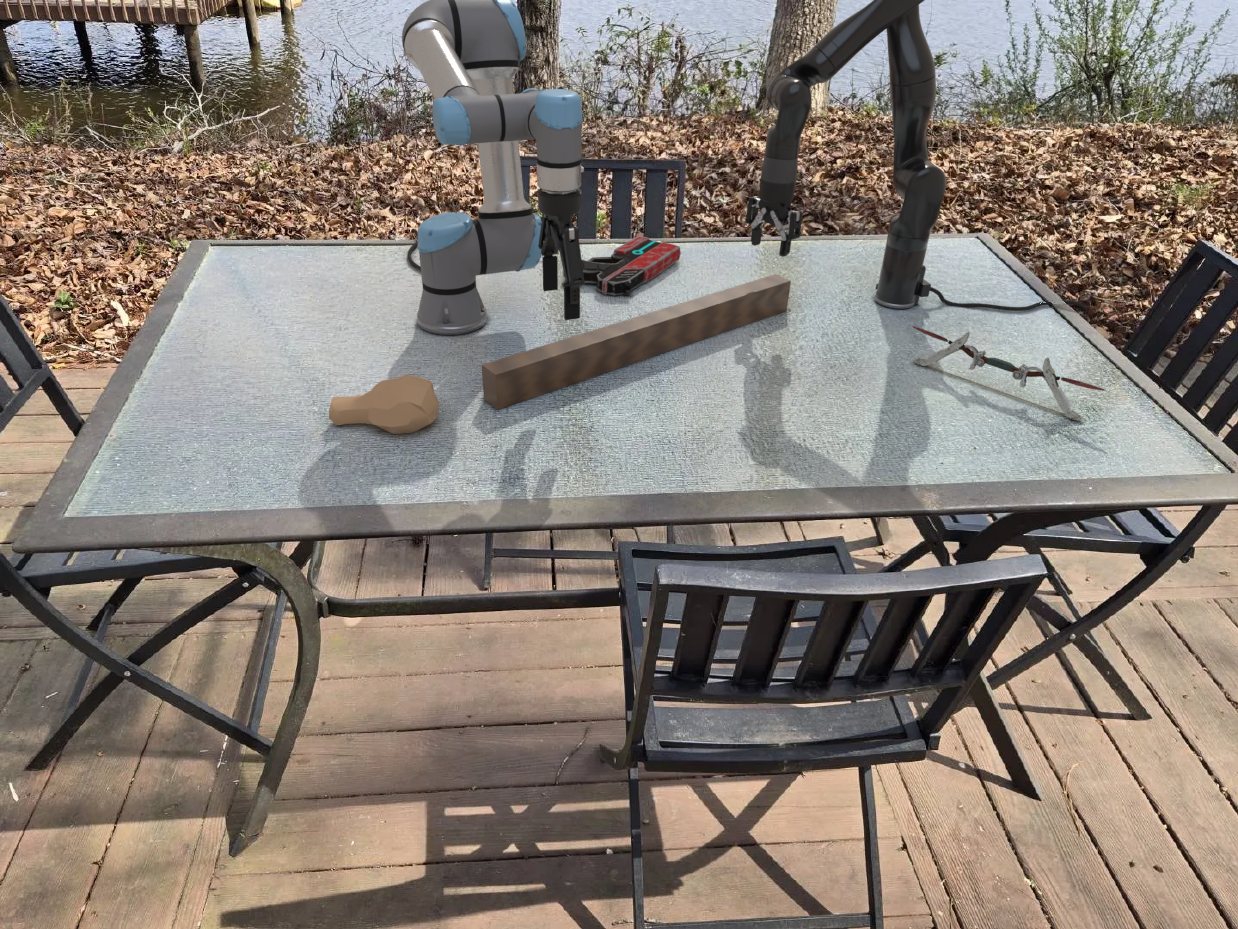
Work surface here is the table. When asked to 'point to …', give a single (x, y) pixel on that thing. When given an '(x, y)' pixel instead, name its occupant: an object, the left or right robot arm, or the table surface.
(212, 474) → the table surface
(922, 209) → the right robot arm
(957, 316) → the table surface
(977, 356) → the bow
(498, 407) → the post
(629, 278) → the gun
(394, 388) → the squash
